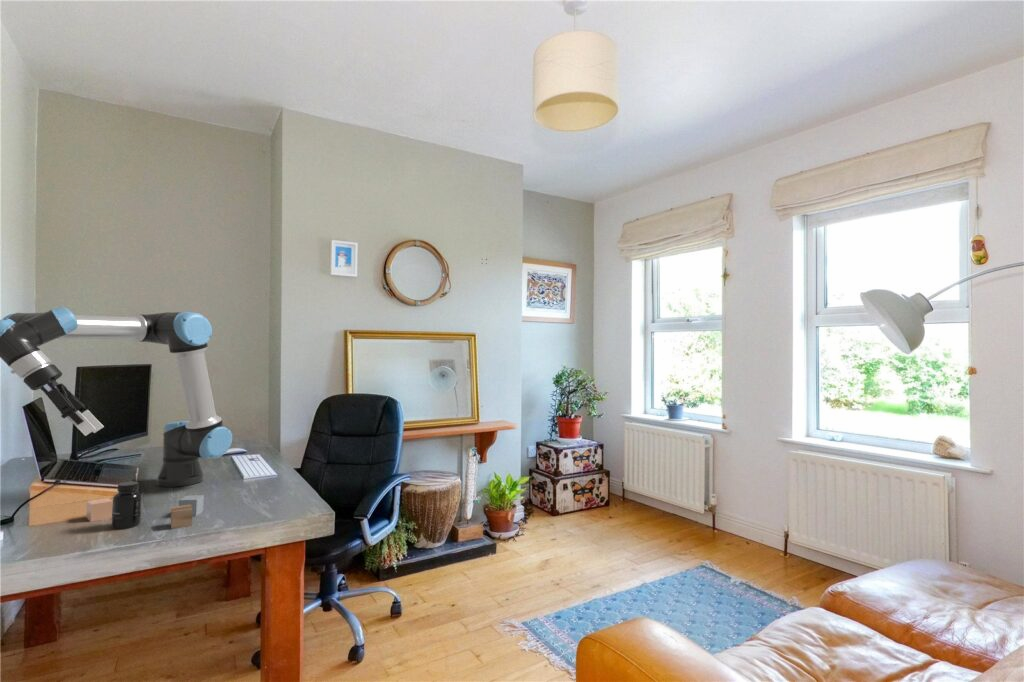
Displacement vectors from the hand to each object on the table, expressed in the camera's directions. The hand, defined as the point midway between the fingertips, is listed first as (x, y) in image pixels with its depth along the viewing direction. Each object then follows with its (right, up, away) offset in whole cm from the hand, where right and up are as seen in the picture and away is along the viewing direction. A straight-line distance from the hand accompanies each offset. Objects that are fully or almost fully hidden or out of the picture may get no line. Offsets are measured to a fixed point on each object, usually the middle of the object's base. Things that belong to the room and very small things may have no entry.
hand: (95, 431), depth 145 cm
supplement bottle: (+7, -28, +2) cm, 29 cm away
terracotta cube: (-6, -27, +9) cm, 29 cm away
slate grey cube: (+18, -28, +14) cm, 36 cm away
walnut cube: (+22, -28, +4) cm, 36 cm away
